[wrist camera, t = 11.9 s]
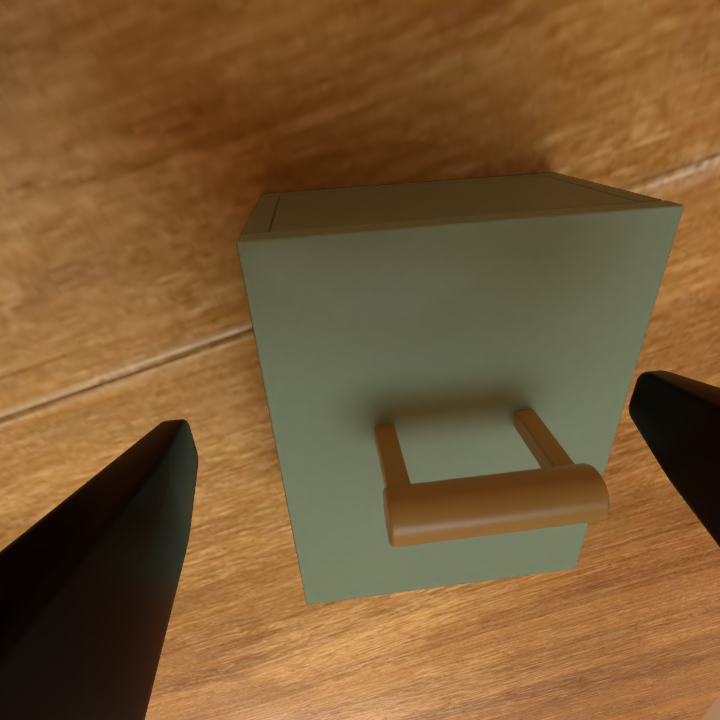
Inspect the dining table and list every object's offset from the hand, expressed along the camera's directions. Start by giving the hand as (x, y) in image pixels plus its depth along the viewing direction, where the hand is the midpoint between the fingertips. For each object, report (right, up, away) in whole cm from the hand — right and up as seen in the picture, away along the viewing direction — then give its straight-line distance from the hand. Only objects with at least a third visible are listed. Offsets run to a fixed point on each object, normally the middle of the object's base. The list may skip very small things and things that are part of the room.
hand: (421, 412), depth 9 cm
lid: (+2, -2, +8) cm, 9 cm away
